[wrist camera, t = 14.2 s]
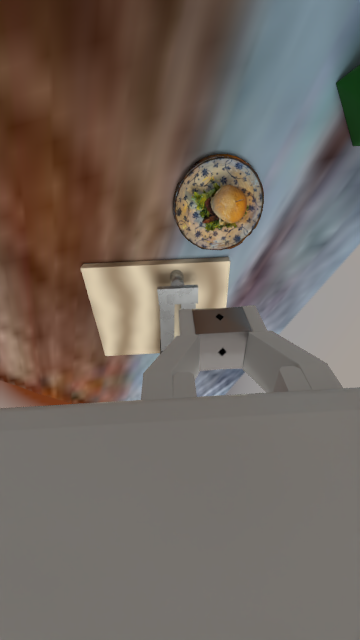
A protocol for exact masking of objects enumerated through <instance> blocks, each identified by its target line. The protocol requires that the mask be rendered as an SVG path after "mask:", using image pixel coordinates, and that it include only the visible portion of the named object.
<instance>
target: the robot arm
mask: <svg viewBox="0 0 360 640" xmlns="http://www.w3.org/2000/svg"><path fill="white" fill-rule="evenodd" d="M179 332H180V336H176V337H175V338H174V339H173V341H172V342H171V343H170V344H169V345H168V346H167V347H166V348H165V350H164V351H163V352H162V353H161V354H160V355H159V356H158V358H157V359H156V360H155V361H154V362H153V363H152V364H151V365H150V367H149V368H148V369H147V370H146V371H145V372H144V373H143V384H142V394H141V400H136V401H119V402H102V403H85V404H69V405H52V406H51V405H50V406H34V407H17V408H0V640H360V388H343V387H342V385H341V384H340V382H339V381H338V379H337V378H336V376H335V375H334V373H333V372H332V370H331V369H330V367H329V366H328V364H327V363H325V362H323V361H322V360H320V359H319V358H317V357H315V356H313V355H312V354H310V353H308V352H307V351H305V350H303V349H301V348H300V347H298V346H296V345H294V344H293V343H291V342H290V341H288V340H286V339H285V338H283V337H281V336H280V335H278V334H276V333H274V332H273V331H267V329H266V327H265V325H264V323H263V320H262V318H261V316H260V314H259V312H258V310H257V308H256V307H255V306H254V305H253V306H241V307H231V308H205V309H192V310H191V309H180V310H179ZM242 368H243V370H244V371H245V372H246V373H247V374H248V375H249V376H250V377H251V378H252V379H253V380H254V381H255V382H256V383H257V384H258V385H259V386H260V387H261V388H262V389H263V390H264V391H265V392H266V393H255V394H238V395H221V396H204V397H197V396H196V388H195V379H196V377H197V375H198V374H199V371H204V370H216V369H242Z"/></svg>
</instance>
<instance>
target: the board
mask: <svg viewBox="0 0 360 640" xmlns="http://www.w3.org/2000/svg"><path fill="white" fill-rule="evenodd" d="M229 269H230V260H229V257H217V258H196V259H175V260H155V261H134V262H113V263H92V264H83V265H82V267H81V271H82V275H83V278H84V282H85V285H86V289H87V292H88V296H89V299H90V303H91V306H92V310H93V313H94V317H95V321H96V324H97V328H98V331H99V335H100V338H101V342H102V345H103V349H104V352H105V356H114V355H132V354H150V353H160V339H161V330H160V305H159V301H158V291H157V287H160V286H170V274H171V272H172V271H174V270H180V271H181V272H182V273H183V277H184V285H198V303H196V309H205V308H226V302H227V291H228V280H229ZM180 309H181V306H180V304H175V311H174V338H175V337H176V336H180V332H179V310H180Z"/></svg>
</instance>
